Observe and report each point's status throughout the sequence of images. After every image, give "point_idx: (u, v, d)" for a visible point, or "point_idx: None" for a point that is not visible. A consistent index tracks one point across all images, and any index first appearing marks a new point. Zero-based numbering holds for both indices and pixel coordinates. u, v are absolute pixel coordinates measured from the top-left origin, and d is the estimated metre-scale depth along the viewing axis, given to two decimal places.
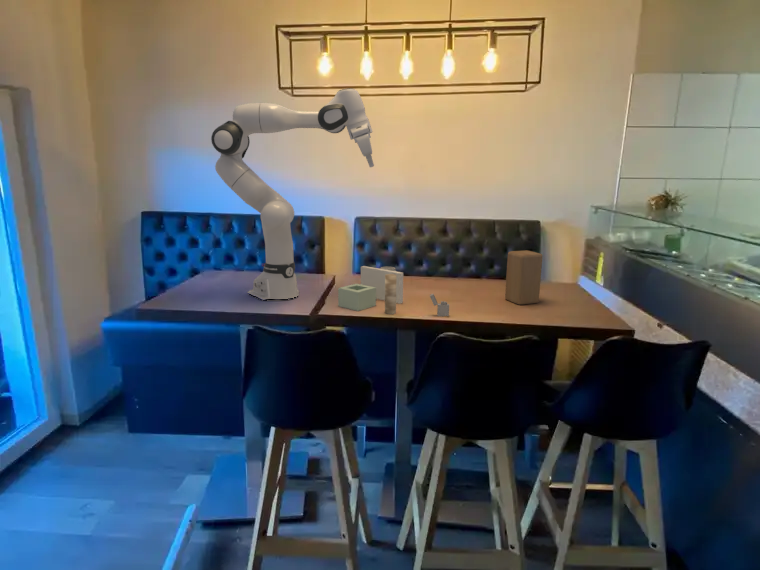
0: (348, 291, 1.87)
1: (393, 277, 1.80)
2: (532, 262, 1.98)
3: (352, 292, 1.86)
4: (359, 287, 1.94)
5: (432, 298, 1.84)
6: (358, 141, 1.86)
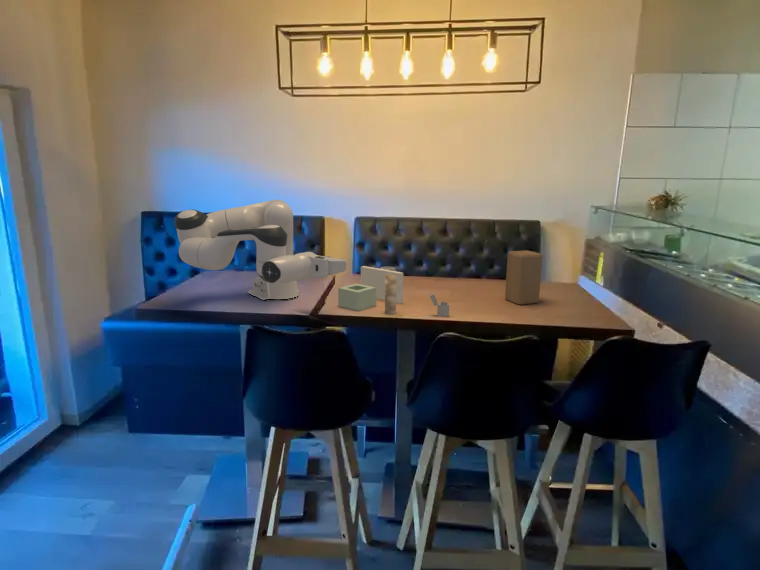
0: (348, 291, 1.87)
1: (393, 277, 1.80)
2: (532, 262, 1.98)
3: (352, 292, 1.86)
4: (359, 287, 1.94)
5: (432, 298, 1.84)
6: (335, 272, 1.68)
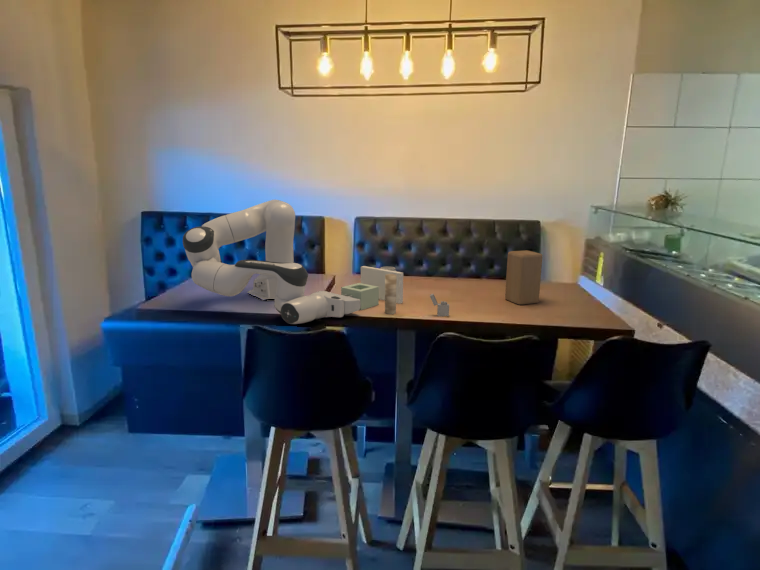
0: (351, 290, 1.88)
1: (393, 277, 1.80)
2: (532, 262, 1.98)
3: (355, 291, 1.87)
4: (362, 286, 1.95)
5: (432, 298, 1.84)
6: (350, 311, 1.76)
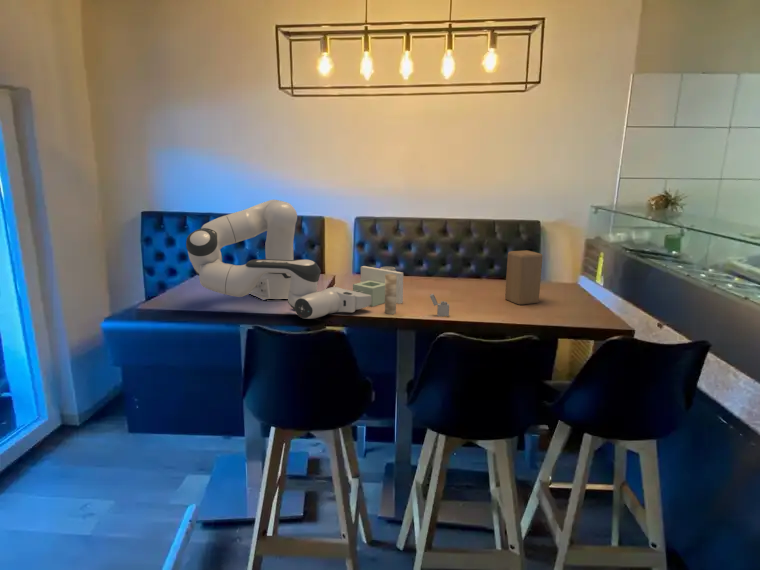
0: (363, 287, 1.93)
1: (393, 277, 1.80)
2: (532, 262, 1.98)
3: (367, 288, 1.92)
4: (373, 283, 2.00)
5: (432, 298, 1.84)
6: (361, 307, 1.81)
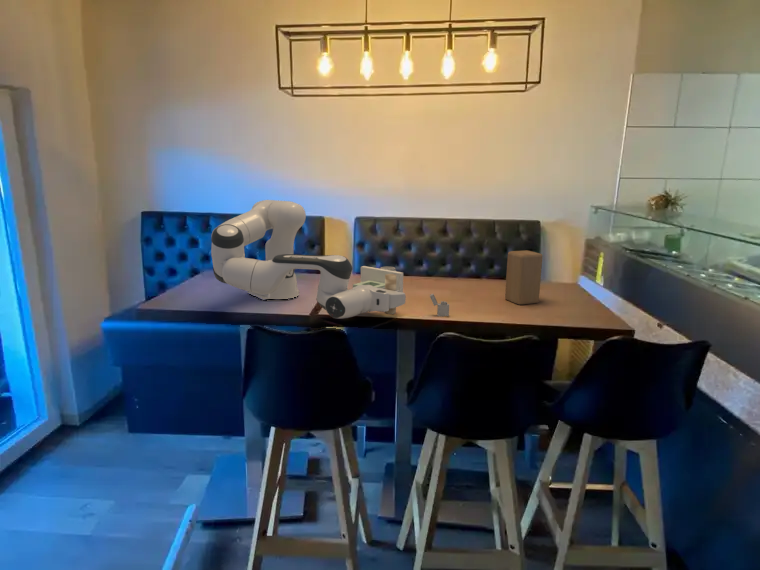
0: None
1: (393, 277, 1.80)
2: (532, 262, 1.98)
3: None
4: (373, 283, 2.00)
5: (432, 298, 1.84)
6: (395, 306, 1.70)
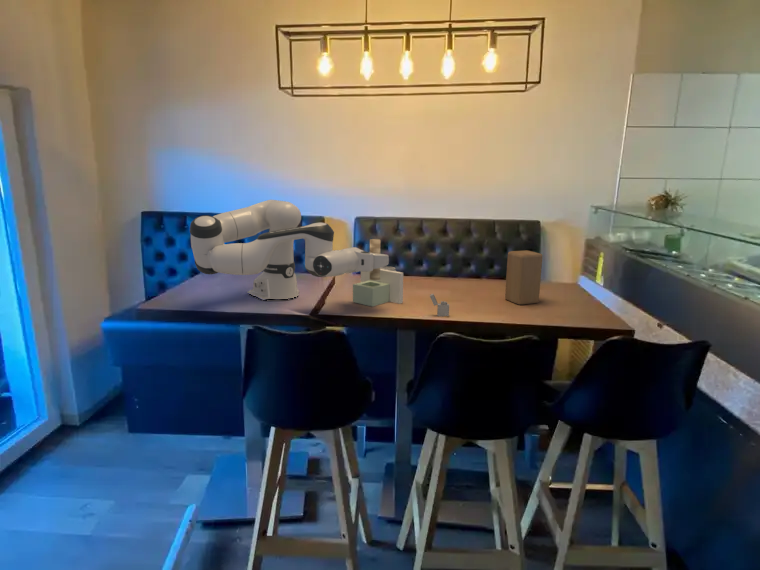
0: (363, 287, 1.93)
1: (377, 241, 1.90)
2: (532, 262, 1.98)
3: (366, 288, 1.92)
4: (373, 283, 2.00)
5: (432, 298, 1.84)
6: (379, 266, 1.80)
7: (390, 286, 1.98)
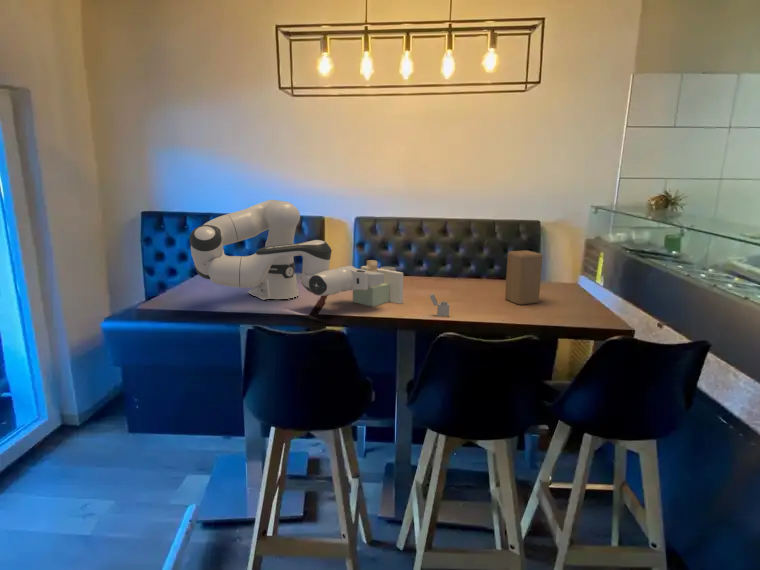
0: None
1: (374, 263, 1.93)
2: (532, 262, 1.98)
3: None
4: None
5: (432, 298, 1.84)
6: (374, 285, 1.84)
7: (390, 286, 1.98)
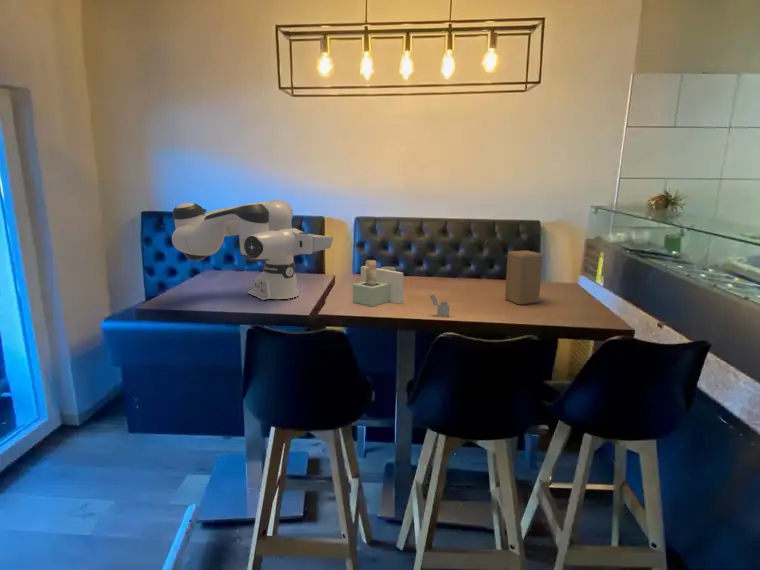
0: (363, 287, 1.93)
1: (373, 262, 1.94)
2: (532, 262, 1.98)
3: (366, 288, 1.92)
4: None
5: (432, 298, 1.84)
6: (319, 249, 1.65)
7: (390, 286, 1.98)
